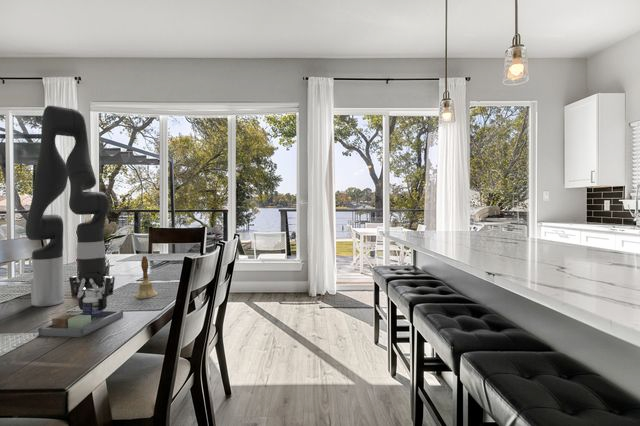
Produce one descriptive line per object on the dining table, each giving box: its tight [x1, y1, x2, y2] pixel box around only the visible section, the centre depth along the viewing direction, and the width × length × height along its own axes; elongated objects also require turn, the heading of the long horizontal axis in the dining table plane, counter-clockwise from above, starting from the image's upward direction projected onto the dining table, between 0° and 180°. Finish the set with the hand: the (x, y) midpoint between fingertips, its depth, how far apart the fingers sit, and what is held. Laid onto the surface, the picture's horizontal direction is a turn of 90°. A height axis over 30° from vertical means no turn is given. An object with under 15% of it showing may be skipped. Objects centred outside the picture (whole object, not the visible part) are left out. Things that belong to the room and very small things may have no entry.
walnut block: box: [51, 313, 76, 328], centre depth 108 cm, size 4×4×4 cm
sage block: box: [68, 315, 91, 329], centre depth 108 cm, size 4×4×4 cm
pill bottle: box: [82, 288, 103, 323], centre depth 116 cm, size 5×5×10 cm
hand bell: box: [134, 255, 158, 299], centre depth 149 cm, size 8×8×16 cm
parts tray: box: [37, 309, 124, 338], centre depth 112 cm, size 13×18×2 cm
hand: (93, 309), depth 116 cm, fingers open, 5 cm apart
